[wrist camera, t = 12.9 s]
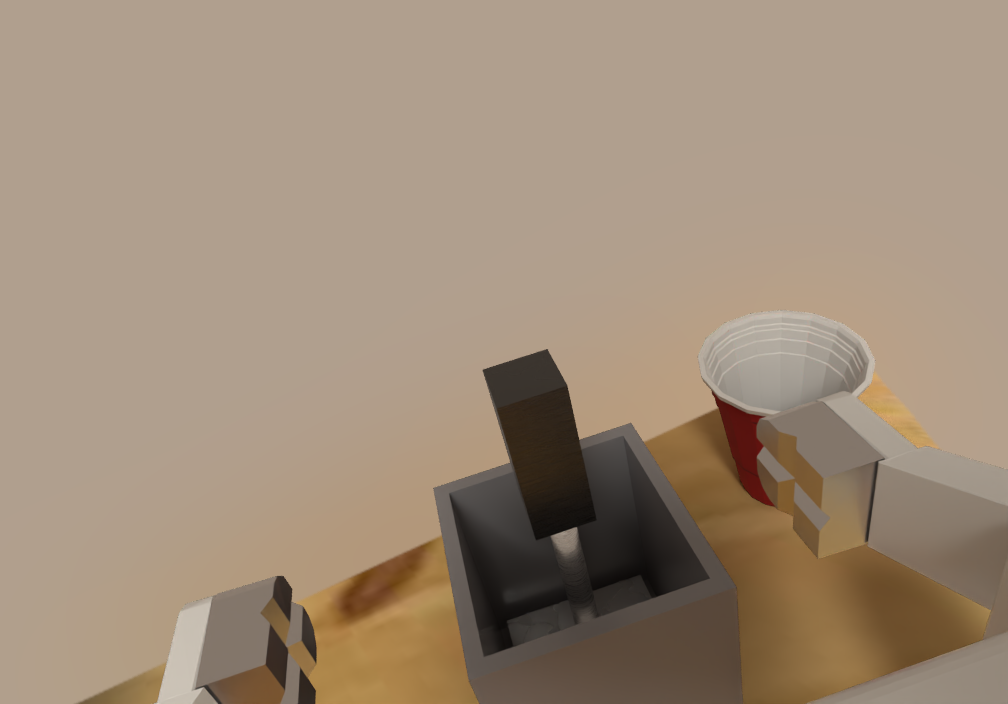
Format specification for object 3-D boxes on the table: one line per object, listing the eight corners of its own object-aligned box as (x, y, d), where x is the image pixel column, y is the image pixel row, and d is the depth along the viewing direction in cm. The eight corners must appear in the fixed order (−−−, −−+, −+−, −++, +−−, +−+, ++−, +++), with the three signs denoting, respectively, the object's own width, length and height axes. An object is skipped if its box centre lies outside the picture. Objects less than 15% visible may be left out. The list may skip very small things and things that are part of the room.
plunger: (547, 773, 35) (431, 484, 24) (509, 627, 43) (408, 355, 31) (707, 715, 36) (672, 405, 24) (641, 582, 44) (590, 298, 32)
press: (535, 825, 35) (468, 680, 27) (490, 632, 45) (433, 487, 38) (745, 748, 36) (736, 587, 28) (655, 575, 46) (631, 422, 38)
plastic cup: (736, 553, 46) (730, 422, 39) (689, 450, 55) (677, 330, 48) (895, 520, 45) (914, 381, 39) (820, 422, 54) (825, 296, 48)
